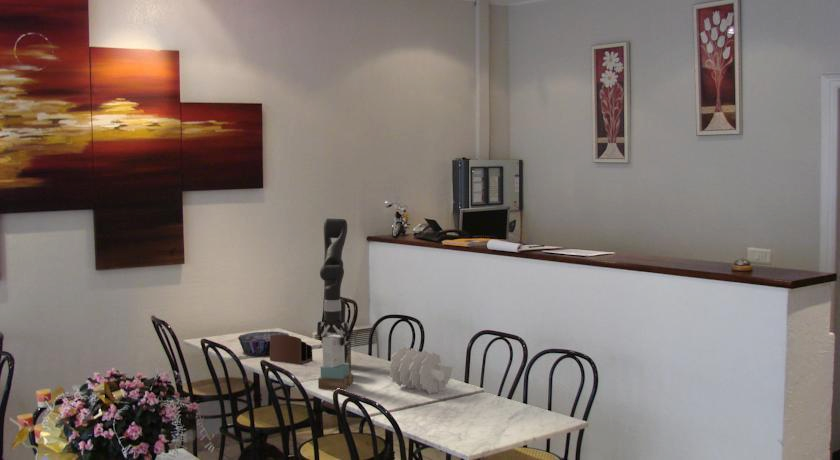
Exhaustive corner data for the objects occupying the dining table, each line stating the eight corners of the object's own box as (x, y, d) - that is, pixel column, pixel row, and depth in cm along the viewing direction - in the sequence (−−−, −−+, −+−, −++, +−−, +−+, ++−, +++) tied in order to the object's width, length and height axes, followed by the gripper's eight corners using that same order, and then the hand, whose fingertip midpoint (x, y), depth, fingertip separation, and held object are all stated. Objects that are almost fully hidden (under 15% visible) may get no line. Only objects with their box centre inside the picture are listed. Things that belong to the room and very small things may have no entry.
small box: (334, 362, 388) (334, 334, 387) (345, 364, 384) (344, 335, 383) (322, 366, 381) (321, 337, 380) (333, 368, 377) (332, 339, 376)
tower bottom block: (328, 382, 391) (327, 372, 390) (352, 384, 388) (352, 373, 387) (318, 389, 379) (318, 378, 379) (343, 391, 376) (343, 380, 376)
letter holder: (300, 365, 423) (300, 337, 422) (269, 360, 433) (268, 333, 432) (312, 360, 432) (312, 333, 431) (281, 356, 442) (281, 329, 441)
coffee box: (346, 379, 395) (345, 344, 393) (333, 378, 396) (332, 344, 395) (351, 374, 404) (351, 340, 402) (338, 373, 405) (338, 340, 404)
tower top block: (328, 372, 389) (328, 361, 389) (349, 373, 387) (349, 363, 386) (320, 378, 379) (320, 367, 379) (341, 379, 377) (341, 368, 377)
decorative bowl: (235, 351, 463) (233, 333, 461) (284, 343, 473) (282, 325, 472) (244, 361, 439) (242, 343, 438) (296, 352, 450) (294, 334, 449)
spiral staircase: (433, 405, 365) (391, 392, 382) (458, 380, 376) (415, 368, 393) (422, 371, 358) (379, 359, 374) (447, 347, 369) (405, 336, 385)
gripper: (350, 308, 382) (351, 344, 383) (320, 307, 386) (321, 342, 387) (344, 311, 375) (345, 347, 376) (314, 310, 378) (315, 346, 380)
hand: (333, 345), depth 382 cm, fingers open, 8 cm apart
